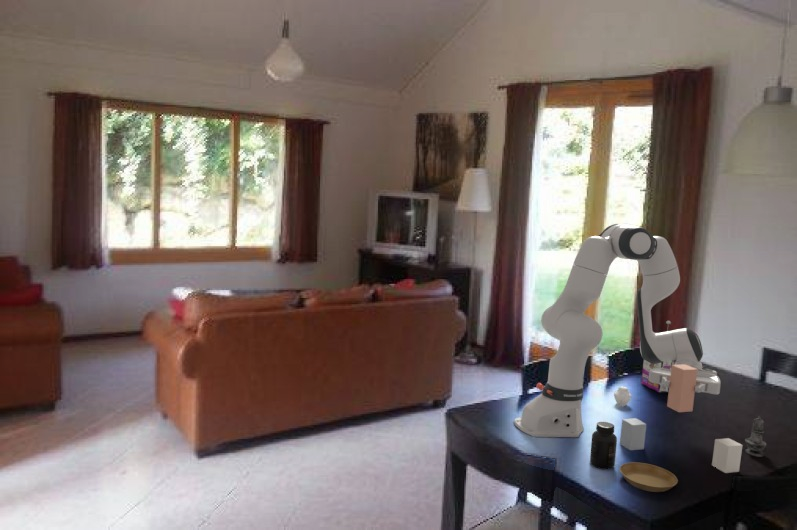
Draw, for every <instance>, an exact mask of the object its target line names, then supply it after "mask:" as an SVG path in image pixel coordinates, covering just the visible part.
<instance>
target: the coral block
mask: <svg viewBox="0 0 797 530" xmlns="http://www.w3.org/2000/svg"><path fill="white" fill-rule="evenodd" d="M696 377H697V369H696V368H693V367H691V366H688V365H686V364H682V365H672V367H671V376H670V385H669V391H668V392H667V393H668V395H667V402H666V407H668V408H670V409H672V410H674V411H675V412H677V413H685V412H688V413H689V412H693V410H694V409H693V408H694V401H695V393H696V392H695V386H696Z"/></svg>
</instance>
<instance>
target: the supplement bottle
mask: <svg viewBox="0 0 797 530" xmlns="http://www.w3.org/2000/svg"><path fill="white" fill-rule="evenodd" d="M595 427H596V428H595V431H594V432H593V433H592V435H591V445H590V456H589V457H590V458H589V462H590V464H591V465H592V466H593V467H595V468H597V469H599V470H600V469H601V470H610V469H613V468H614V467H615V466H616V465H615V464H616V456H617V455H616V454H617V443H618V438H617V436H616V435H617V434H615V425H614V424H613V423H610V422H608V421H599V422H597V423H596V426H595Z"/></svg>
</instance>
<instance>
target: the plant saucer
mask: <svg viewBox="0 0 797 530" xmlns="http://www.w3.org/2000/svg"><path fill="white" fill-rule="evenodd" d="M619 472H620V473H621V475H622V477H623V479H625V480H626V482H627V483H629V484H630V485H631V486H633V487H634V488H637V489H639V490H642V491H645V492H646V491H647V492H652V493H662V492H666V491H669V490H670V489H673V487H675V486H676V485H677V484H678V482H679V480H678V478H677V476H676V475H675V473H672V472H671V471H669V470H668V469H665V468H663V467H660V466H659V465H658V466H657V465H654V464H650V463H645V462H626V463H623V464H621V465H620V467H619Z"/></svg>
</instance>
